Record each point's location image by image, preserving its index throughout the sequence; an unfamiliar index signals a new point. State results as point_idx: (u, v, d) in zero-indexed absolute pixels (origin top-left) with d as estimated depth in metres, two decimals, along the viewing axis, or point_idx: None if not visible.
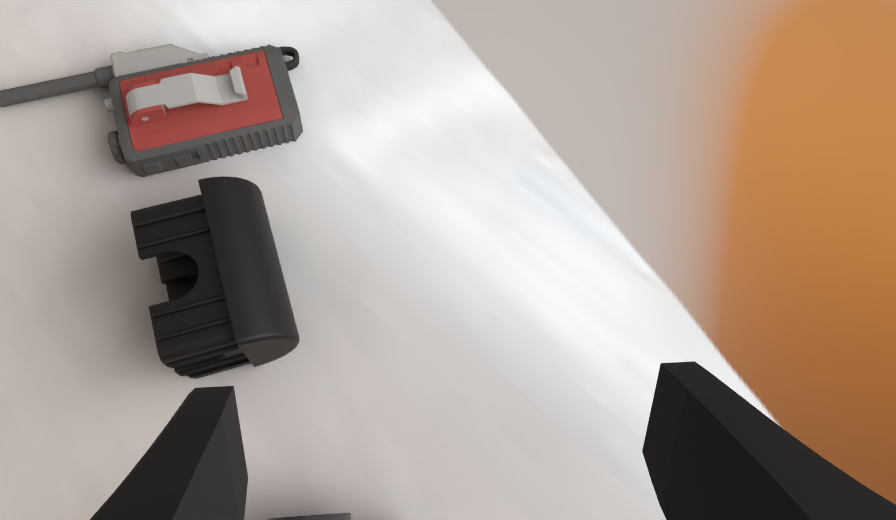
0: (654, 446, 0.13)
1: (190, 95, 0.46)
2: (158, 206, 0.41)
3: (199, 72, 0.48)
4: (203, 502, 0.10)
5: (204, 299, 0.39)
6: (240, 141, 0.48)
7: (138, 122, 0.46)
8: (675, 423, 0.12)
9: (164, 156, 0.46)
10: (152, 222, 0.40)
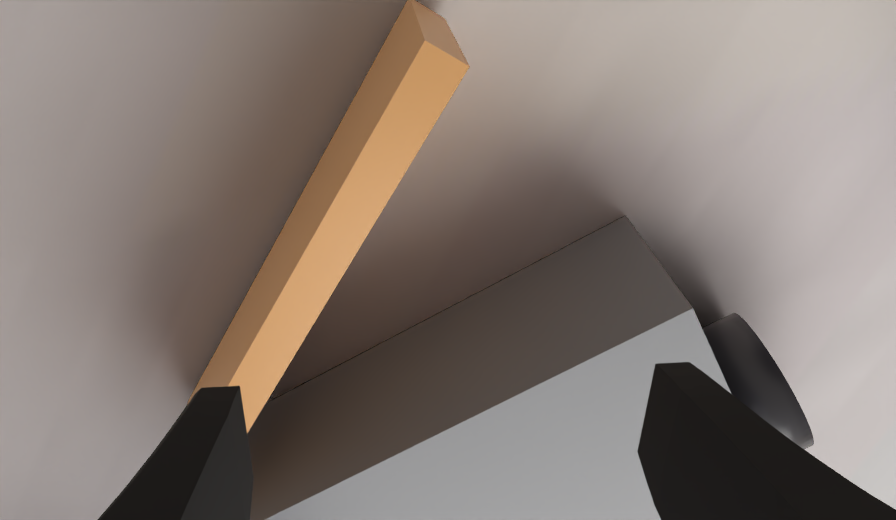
0: (649, 446, 0.13)
1: None
2: None
3: None
4: (210, 502, 0.10)
5: None
6: None
7: None
8: (669, 423, 0.12)
9: None
10: None
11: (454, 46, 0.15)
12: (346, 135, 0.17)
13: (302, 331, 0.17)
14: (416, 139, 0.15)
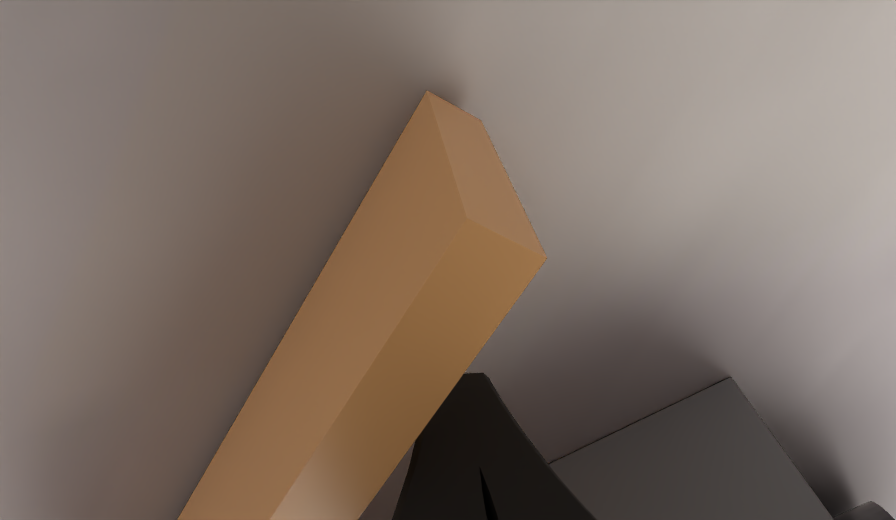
0: None
1: None
2: None
3: None
4: None
5: None
6: None
7: None
8: None
9: None
10: None
11: (511, 200, 0.09)
12: (328, 314, 0.11)
13: None
14: (447, 373, 0.08)
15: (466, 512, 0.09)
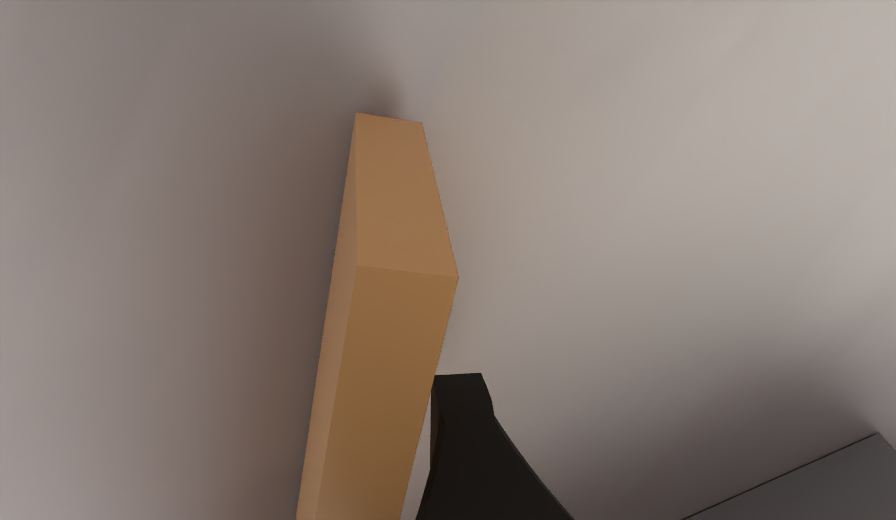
0: None
1: None
2: None
3: None
4: None
5: None
6: None
7: None
8: (436, 438, 0.11)
9: None
10: None
11: (430, 216, 0.08)
12: (324, 363, 0.11)
13: None
14: (411, 413, 0.08)
15: (490, 510, 0.09)
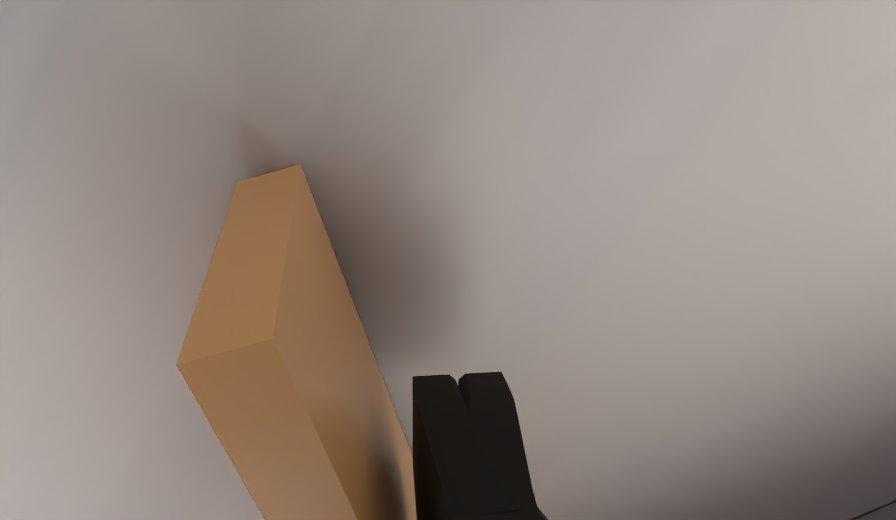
0: (414, 462, 0.12)
1: None
2: None
3: None
4: None
5: None
6: None
7: None
8: (417, 439, 0.11)
9: None
10: None
11: (269, 276, 0.08)
12: None
13: None
14: (317, 463, 0.08)
15: (518, 508, 0.09)
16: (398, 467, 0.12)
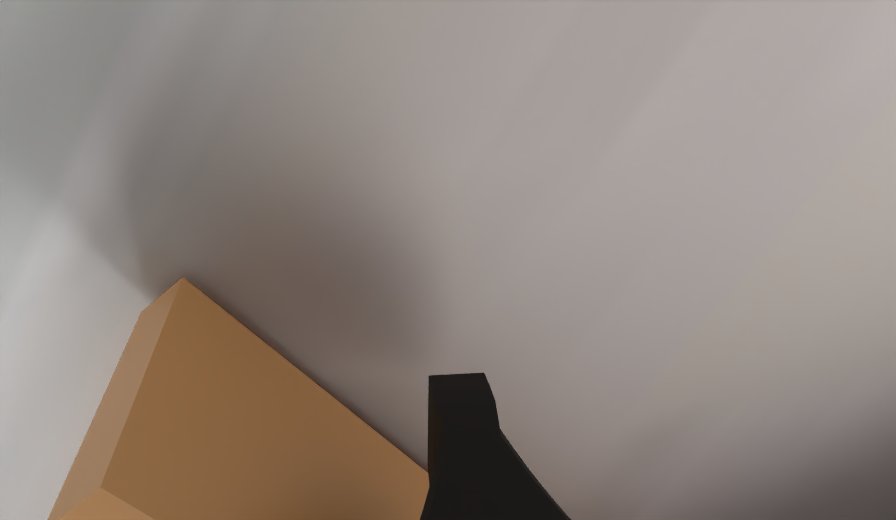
0: (430, 461, 0.12)
1: None
2: None
3: None
4: None
5: None
6: None
7: None
8: (433, 438, 0.11)
9: None
10: None
11: (122, 416, 0.09)
12: None
13: None
14: None
15: (495, 510, 0.09)
16: (394, 503, 0.13)
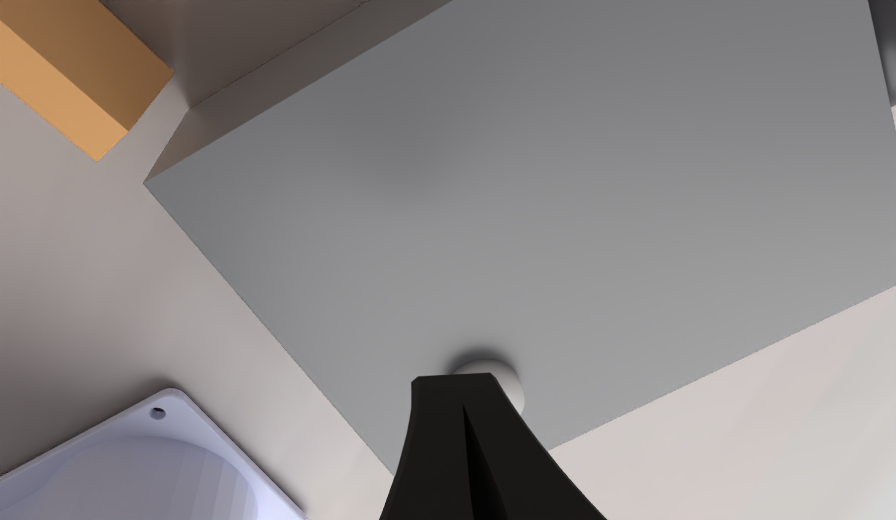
0: None
1: None
2: None
3: None
4: None
5: None
6: None
7: None
8: None
9: None
10: None
11: None
12: None
13: None
14: None
15: (453, 513, 0.09)
16: None
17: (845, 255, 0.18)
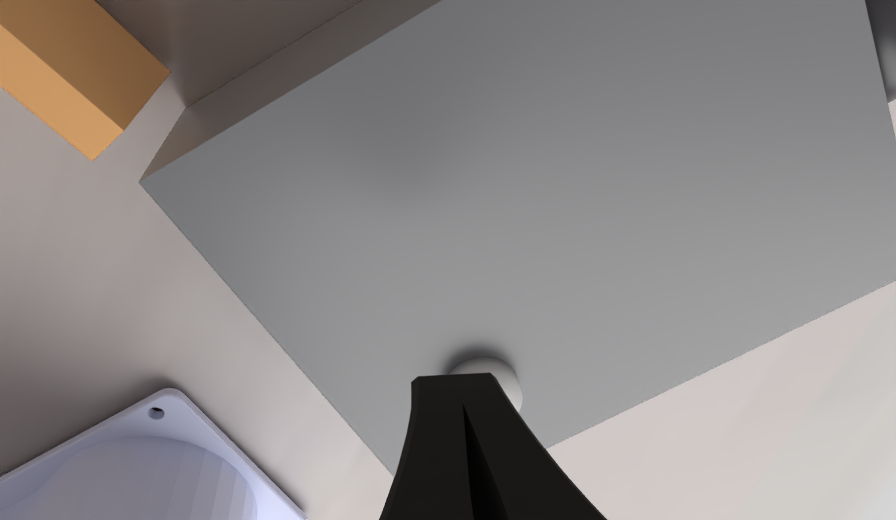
0: None
1: None
2: None
3: None
4: None
5: None
6: None
7: None
8: None
9: None
10: None
11: None
12: None
13: None
14: None
15: (453, 513, 0.09)
16: None
17: (842, 251, 0.18)
